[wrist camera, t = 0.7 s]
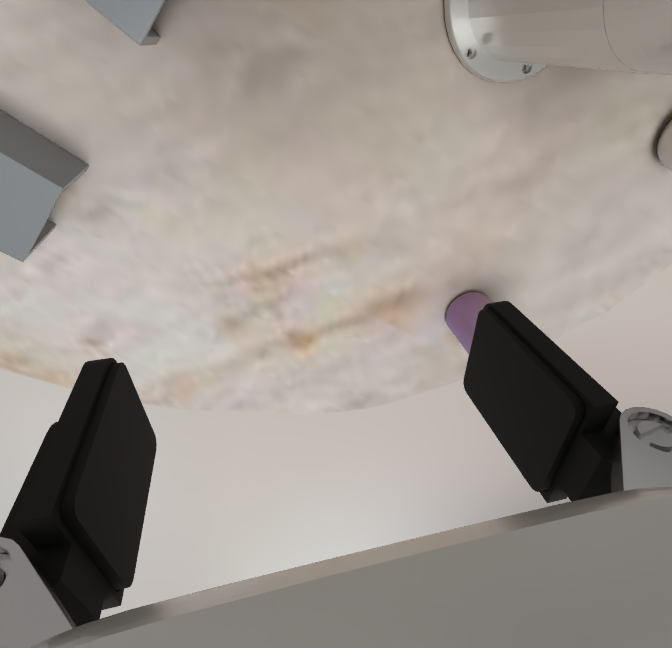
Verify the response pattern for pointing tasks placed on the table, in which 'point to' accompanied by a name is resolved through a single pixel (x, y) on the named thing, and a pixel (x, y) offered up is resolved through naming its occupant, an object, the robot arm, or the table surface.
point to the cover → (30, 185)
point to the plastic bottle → (666, 146)
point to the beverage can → (465, 316)
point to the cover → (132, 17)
